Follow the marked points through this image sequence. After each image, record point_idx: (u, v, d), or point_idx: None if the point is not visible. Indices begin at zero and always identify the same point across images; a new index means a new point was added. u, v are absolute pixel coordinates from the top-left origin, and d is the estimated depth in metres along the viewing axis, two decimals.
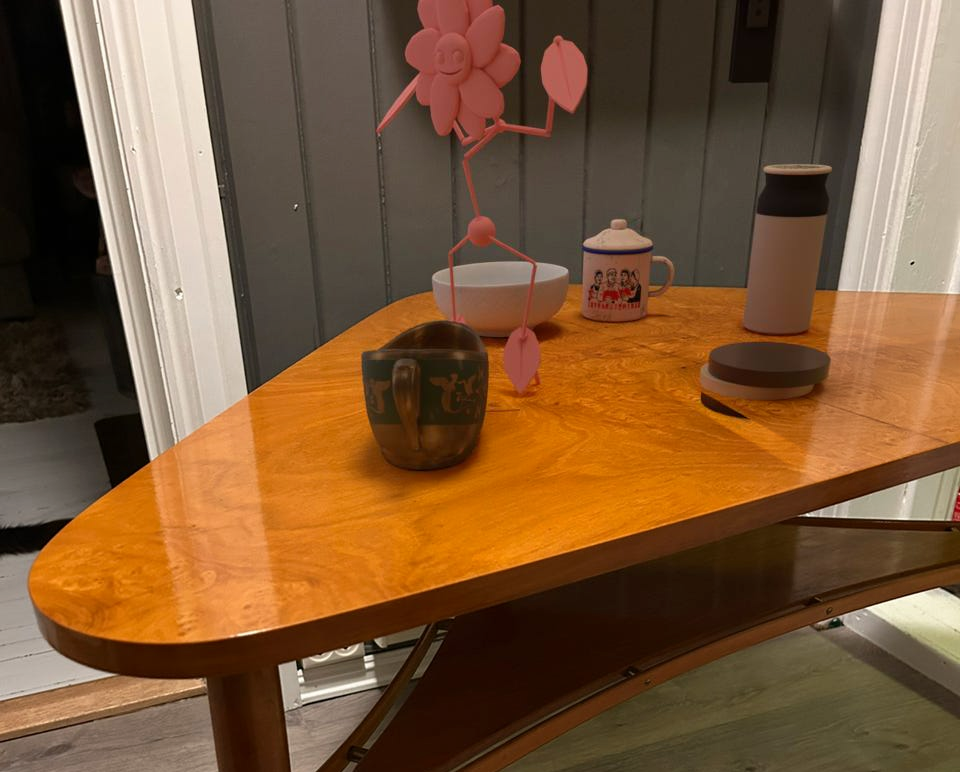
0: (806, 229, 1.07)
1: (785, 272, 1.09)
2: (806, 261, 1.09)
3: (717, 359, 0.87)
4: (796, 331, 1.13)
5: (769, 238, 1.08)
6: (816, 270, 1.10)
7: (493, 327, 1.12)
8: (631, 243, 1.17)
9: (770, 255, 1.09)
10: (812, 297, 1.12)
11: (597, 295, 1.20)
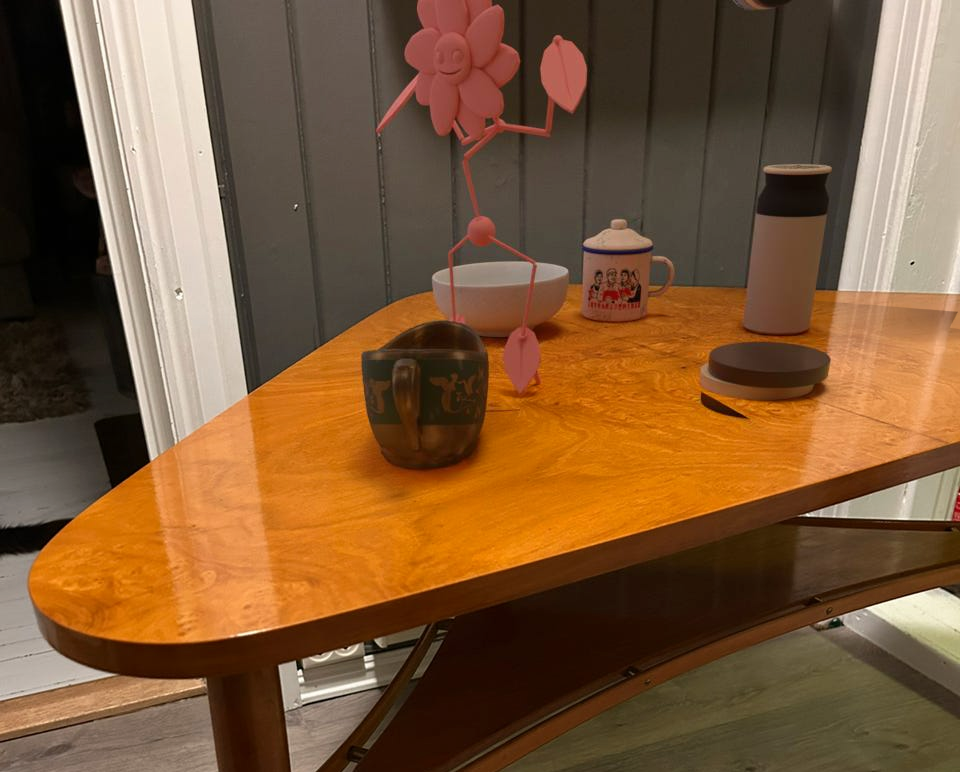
0: (806, 229, 1.07)
1: (785, 272, 1.09)
2: (806, 261, 1.09)
3: (717, 359, 0.87)
4: (796, 331, 1.13)
5: (769, 238, 1.08)
6: (816, 270, 1.10)
7: (493, 327, 1.12)
8: (631, 243, 1.17)
9: (770, 255, 1.09)
10: (812, 297, 1.12)
11: (597, 295, 1.20)
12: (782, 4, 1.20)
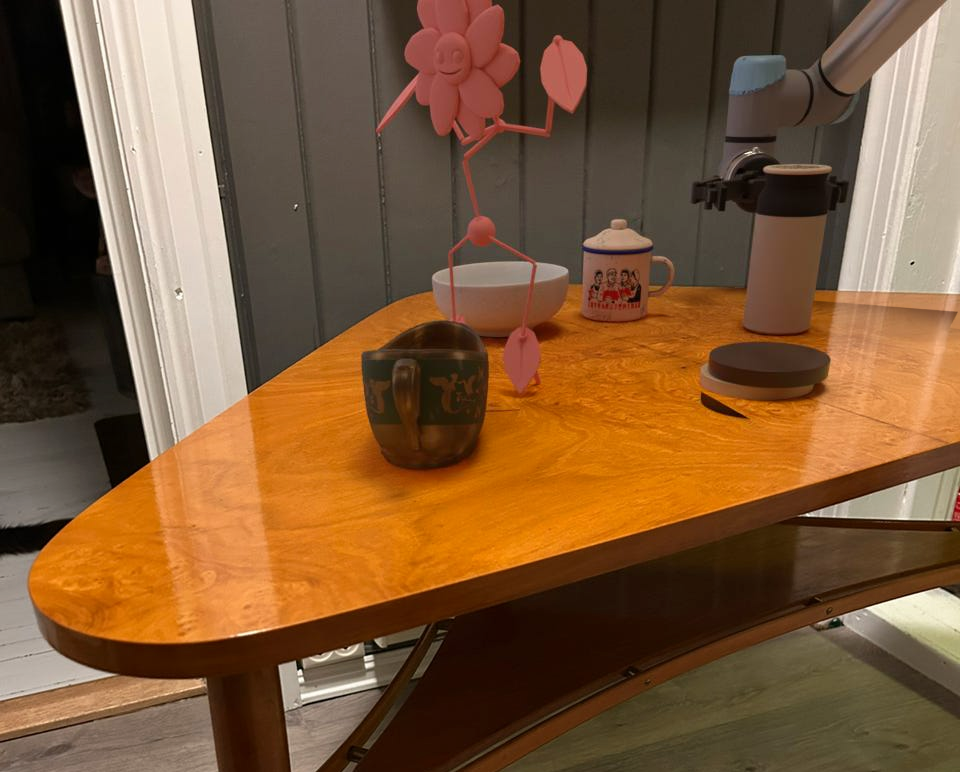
0: (806, 229, 1.07)
1: (785, 272, 1.09)
2: (806, 261, 1.09)
3: (717, 359, 0.87)
4: (796, 331, 1.13)
5: (769, 238, 1.08)
6: (816, 270, 1.10)
7: (493, 327, 1.12)
8: (631, 243, 1.17)
9: (770, 255, 1.09)
10: (812, 297, 1.12)
11: (597, 295, 1.20)
12: None
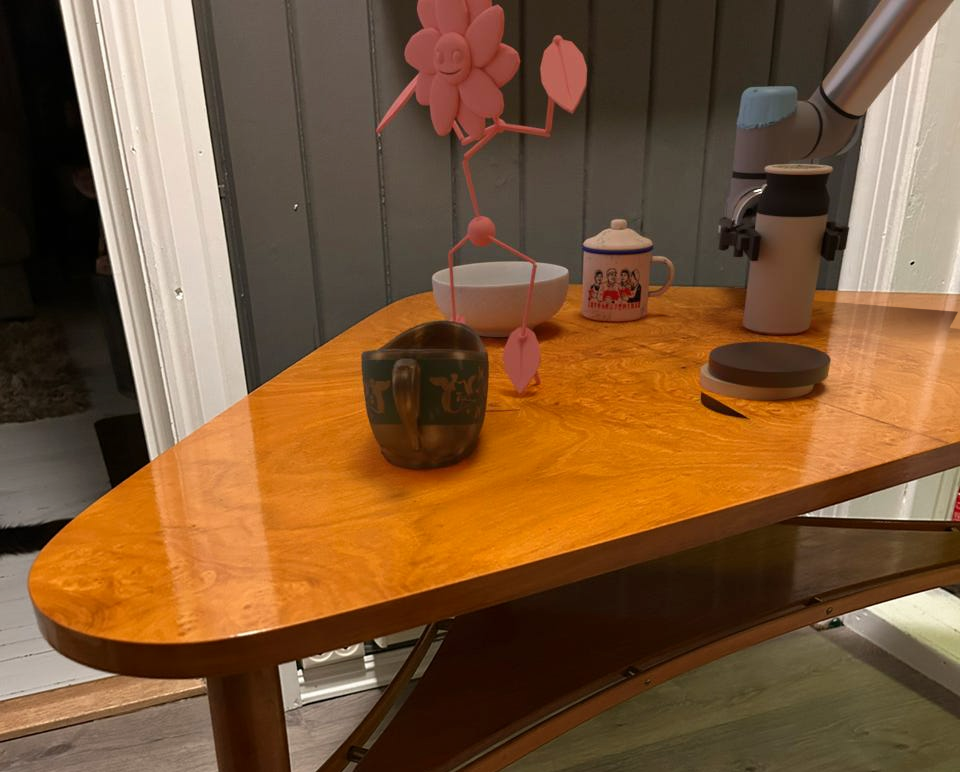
0: (806, 229, 1.07)
1: (785, 272, 1.09)
2: (807, 261, 1.09)
3: (717, 359, 0.87)
4: (796, 331, 1.13)
5: (770, 238, 1.08)
6: (816, 270, 1.10)
7: (493, 327, 1.12)
8: (631, 243, 1.17)
9: (771, 255, 1.09)
10: (812, 297, 1.12)
11: (597, 295, 1.20)
12: None
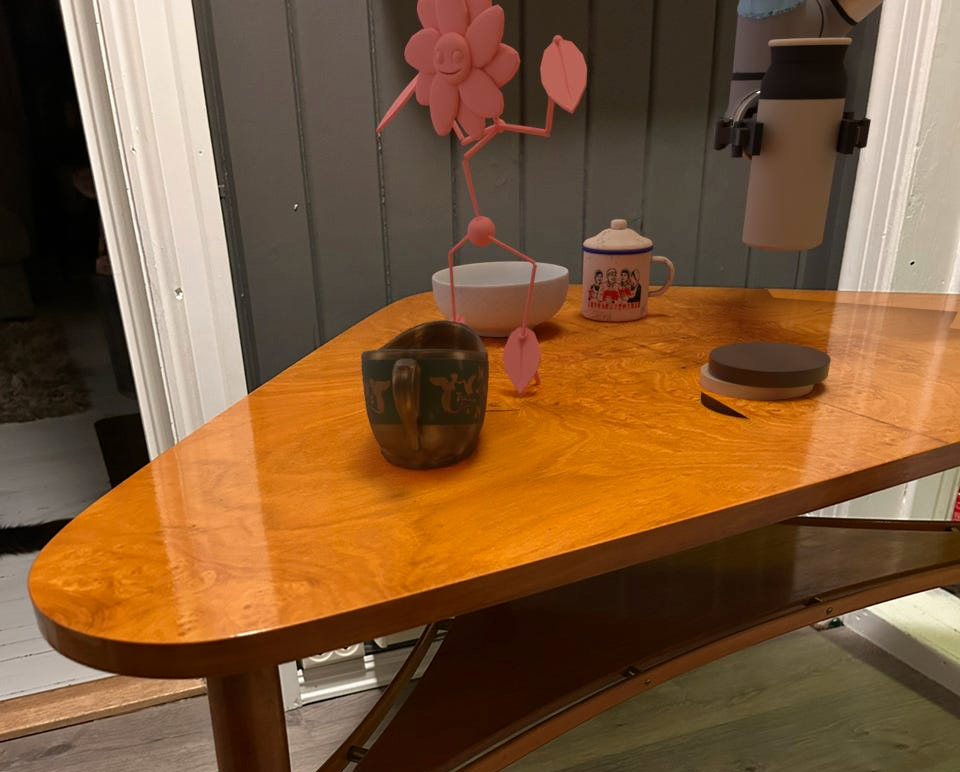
0: (819, 116, 0.87)
1: (793, 170, 0.90)
2: (819, 156, 0.89)
3: (717, 359, 0.87)
4: (806, 245, 0.94)
5: (775, 127, 0.89)
6: (831, 169, 0.91)
7: (493, 327, 1.12)
8: (631, 243, 1.17)
9: (776, 150, 0.90)
10: (825, 204, 0.93)
11: (597, 295, 1.20)
12: None
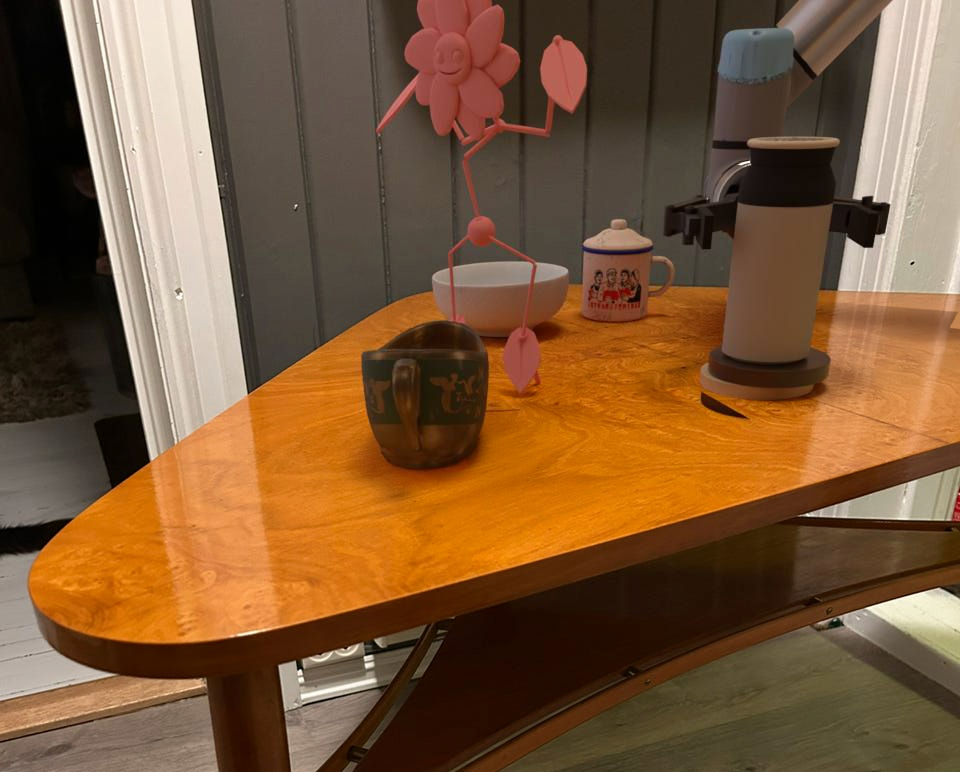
0: (805, 224, 0.79)
1: (777, 281, 0.81)
2: (805, 267, 0.81)
3: (717, 359, 0.87)
4: (792, 360, 0.85)
5: (755, 235, 0.80)
6: (818, 279, 0.82)
7: (493, 327, 1.12)
8: (631, 243, 1.17)
9: (757, 259, 0.81)
10: (813, 315, 0.84)
11: (597, 295, 1.20)
12: None
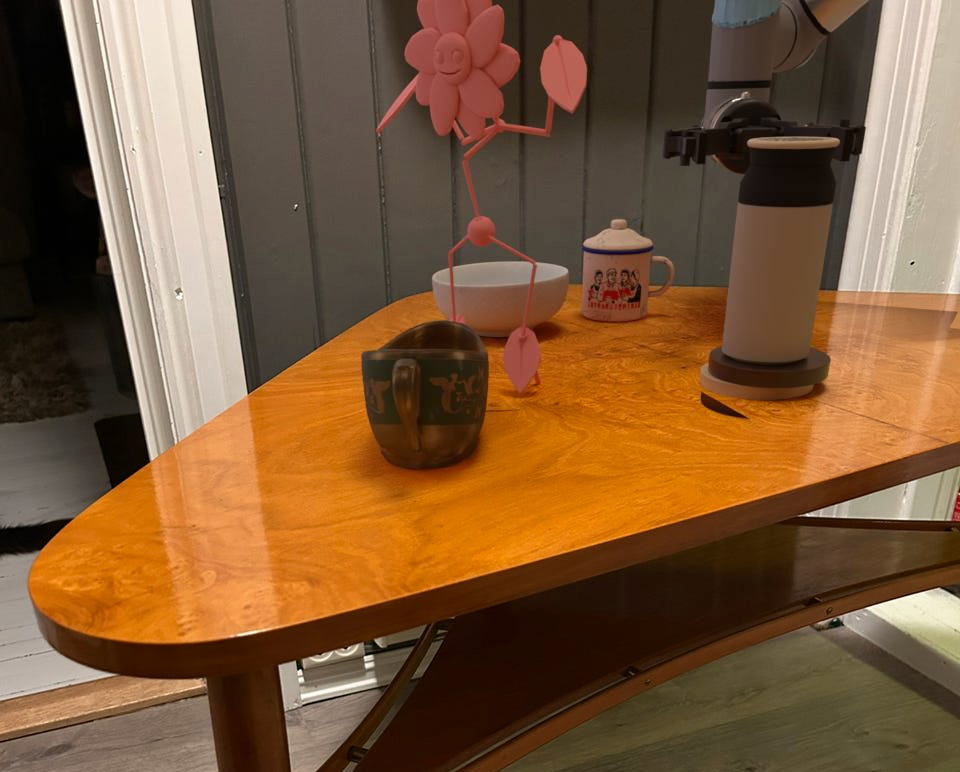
0: (805, 224, 0.79)
1: (777, 281, 0.81)
2: (805, 267, 0.81)
3: (717, 359, 0.87)
4: (792, 360, 0.85)
5: (755, 235, 0.80)
6: (818, 279, 0.82)
7: (493, 327, 1.12)
8: (631, 243, 1.17)
9: (757, 259, 0.81)
10: (813, 315, 0.84)
11: (597, 295, 1.20)
12: None
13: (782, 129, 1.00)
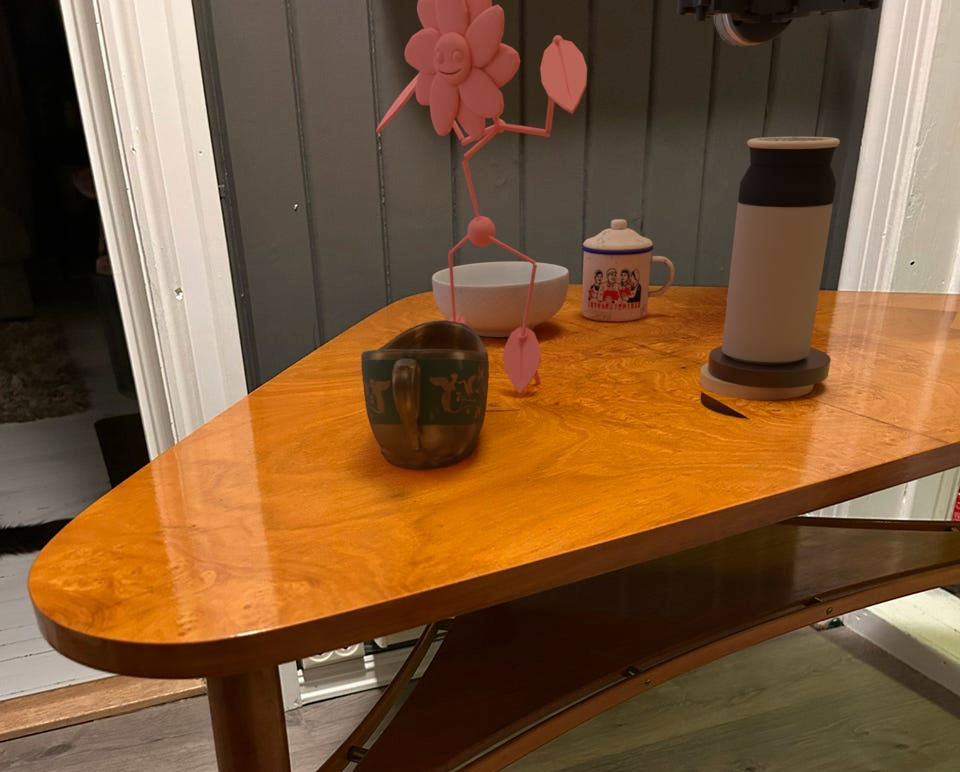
0: (805, 224, 0.79)
1: (777, 281, 0.81)
2: (805, 267, 0.81)
3: (717, 359, 0.87)
4: (792, 360, 0.85)
5: (755, 235, 0.80)
6: (818, 279, 0.82)
7: (493, 327, 1.12)
8: (631, 243, 1.17)
9: (757, 259, 0.81)
10: (813, 315, 0.84)
11: (597, 295, 1.20)
12: (770, 38, 1.06)
13: None
